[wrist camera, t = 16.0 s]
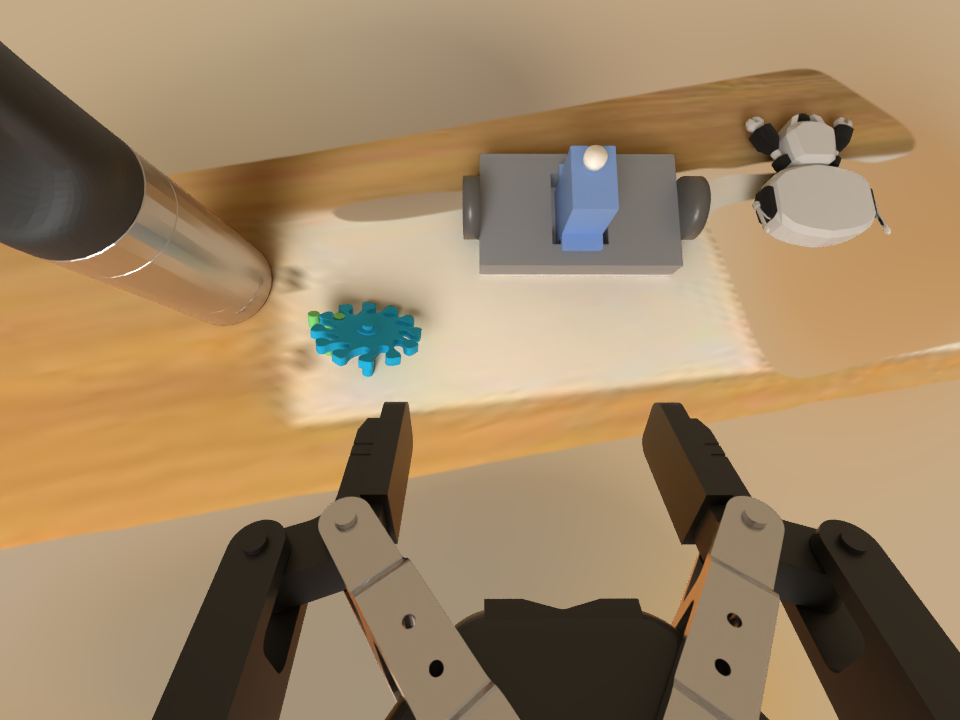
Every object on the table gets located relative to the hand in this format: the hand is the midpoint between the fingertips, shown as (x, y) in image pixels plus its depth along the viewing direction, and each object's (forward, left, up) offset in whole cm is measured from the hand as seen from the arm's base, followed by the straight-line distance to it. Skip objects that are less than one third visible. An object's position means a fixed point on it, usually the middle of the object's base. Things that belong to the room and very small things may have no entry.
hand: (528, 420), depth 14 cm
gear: (-15, +1, -29) cm, 33 cm away
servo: (-3, +23, -28) cm, 36 cm away
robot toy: (+16, +38, -29) cm, 51 cm away
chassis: (-3, +23, -29) cm, 37 cm away
